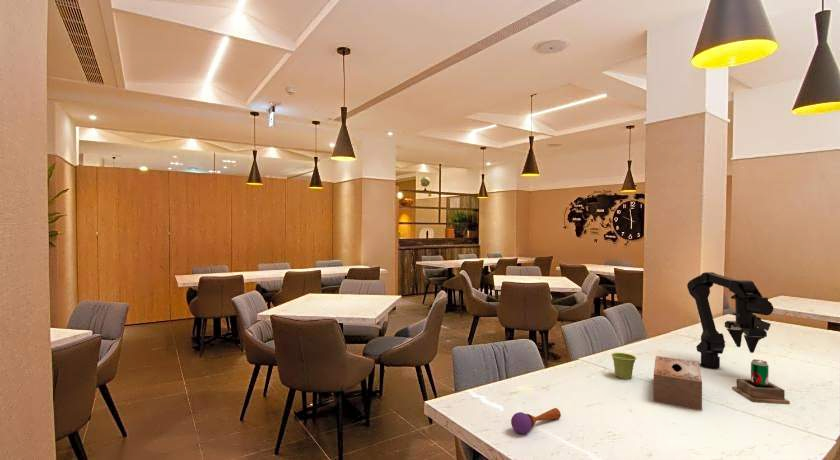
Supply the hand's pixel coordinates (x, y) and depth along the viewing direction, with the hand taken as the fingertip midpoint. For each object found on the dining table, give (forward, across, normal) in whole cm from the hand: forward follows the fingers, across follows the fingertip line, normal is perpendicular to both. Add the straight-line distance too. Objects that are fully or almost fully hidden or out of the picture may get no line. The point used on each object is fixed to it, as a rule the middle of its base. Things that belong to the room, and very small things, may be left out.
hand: (745, 349), depth 169 cm
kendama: (+14, -56, +87) cm, 105 cm away
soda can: (+13, -15, +4) cm, 20 cm away
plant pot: (+13, -4, +47) cm, 49 cm away
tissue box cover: (+14, -19, +33) cm, 40 cm away
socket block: (+13, -16, +4) cm, 21 cm away
